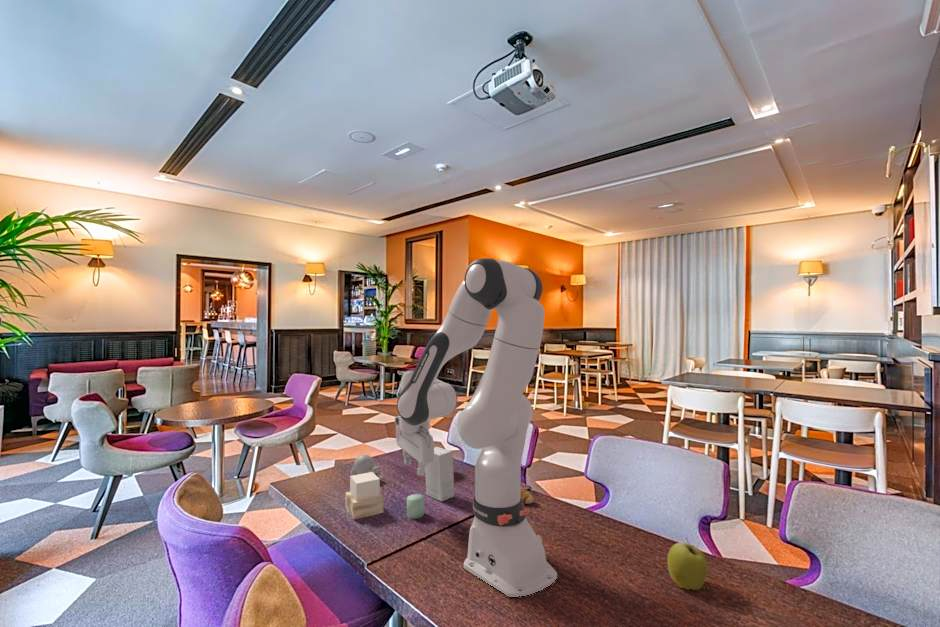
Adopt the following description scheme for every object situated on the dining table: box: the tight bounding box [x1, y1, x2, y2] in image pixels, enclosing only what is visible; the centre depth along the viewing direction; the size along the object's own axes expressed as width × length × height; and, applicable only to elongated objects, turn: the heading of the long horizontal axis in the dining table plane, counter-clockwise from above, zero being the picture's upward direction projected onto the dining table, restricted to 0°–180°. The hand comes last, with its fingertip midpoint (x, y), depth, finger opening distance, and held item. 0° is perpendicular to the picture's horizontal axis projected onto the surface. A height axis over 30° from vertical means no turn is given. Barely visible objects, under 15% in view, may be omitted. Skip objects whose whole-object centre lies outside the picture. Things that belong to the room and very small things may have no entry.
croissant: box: [521, 485, 535, 505], centre depth 136 cm, size 21×10×8 cm, turn 57°
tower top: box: [349, 472, 381, 501], centre depth 127 cm, size 7×7×5 cm
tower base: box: [344, 490, 384, 521], centre depth 127 cm, size 9×9×5 cm
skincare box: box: [424, 446, 455, 502], centre depth 137 cm, size 8×6×15 cm
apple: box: [667, 537, 709, 591], centre depth 91 cm, size 8×8×10 cm
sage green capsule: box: [406, 493, 425, 520], centre depth 124 cm, size 5×5×5 cm
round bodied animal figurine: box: [349, 454, 383, 481], centre depth 150 cm, size 7×12×8 cm, turn 64°
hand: (413, 469), depth 124 cm, fingers open, 8 cm apart
